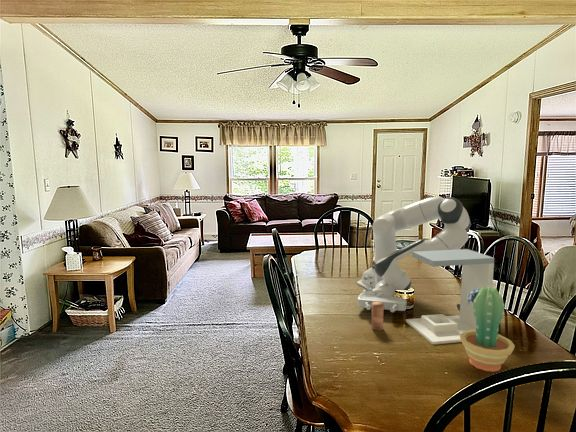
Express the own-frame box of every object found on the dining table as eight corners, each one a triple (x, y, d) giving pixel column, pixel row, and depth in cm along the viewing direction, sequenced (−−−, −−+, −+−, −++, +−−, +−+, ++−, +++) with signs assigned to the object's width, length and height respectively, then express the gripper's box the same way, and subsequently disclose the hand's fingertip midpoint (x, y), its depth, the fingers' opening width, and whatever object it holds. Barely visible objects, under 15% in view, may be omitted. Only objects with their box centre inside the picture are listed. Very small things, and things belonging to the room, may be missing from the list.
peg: (368, 327, 146) (369, 303, 145) (376, 324, 148) (377, 300, 147) (377, 331, 142) (377, 306, 141) (385, 328, 145) (386, 304, 143)
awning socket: (405, 321, 151) (408, 249, 147) (459, 317, 155) (463, 247, 151) (432, 344, 132) (436, 262, 128) (492, 339, 135) (498, 259, 132)
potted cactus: (494, 351, 126) (499, 280, 123) (524, 376, 111) (531, 296, 108) (450, 352, 126) (453, 281, 123) (474, 378, 111) (479, 297, 107)
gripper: (406, 306, 162) (406, 319, 149) (359, 302, 168) (355, 314, 155) (406, 293, 161) (406, 304, 148) (359, 289, 168) (355, 299, 155)
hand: (380, 309), depth 152 cm, fingers open, 8 cm apart
